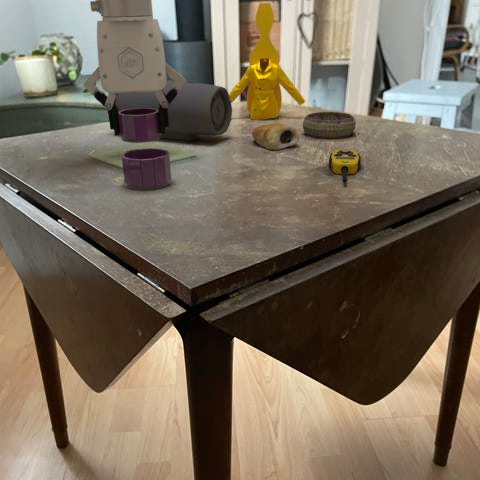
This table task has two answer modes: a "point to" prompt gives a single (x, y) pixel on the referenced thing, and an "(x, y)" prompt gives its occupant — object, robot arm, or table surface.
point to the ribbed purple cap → (146, 169)
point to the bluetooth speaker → (187, 109)
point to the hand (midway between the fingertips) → (140, 132)
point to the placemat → (115, 155)
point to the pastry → (275, 136)
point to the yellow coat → (264, 73)
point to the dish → (139, 125)
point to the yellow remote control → (344, 162)
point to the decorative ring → (329, 125)
